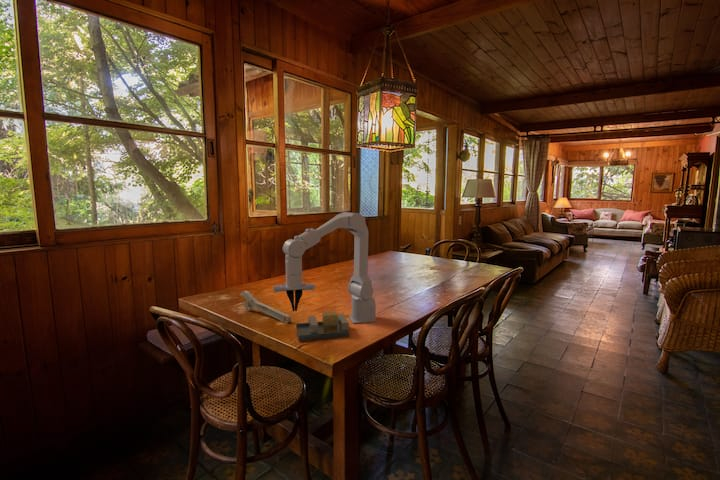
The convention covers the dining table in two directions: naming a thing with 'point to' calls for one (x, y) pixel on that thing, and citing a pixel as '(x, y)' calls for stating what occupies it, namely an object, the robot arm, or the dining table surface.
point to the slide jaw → (313, 324)
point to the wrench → (263, 307)
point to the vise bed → (306, 335)
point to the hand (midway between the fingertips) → (294, 310)
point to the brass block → (329, 321)
